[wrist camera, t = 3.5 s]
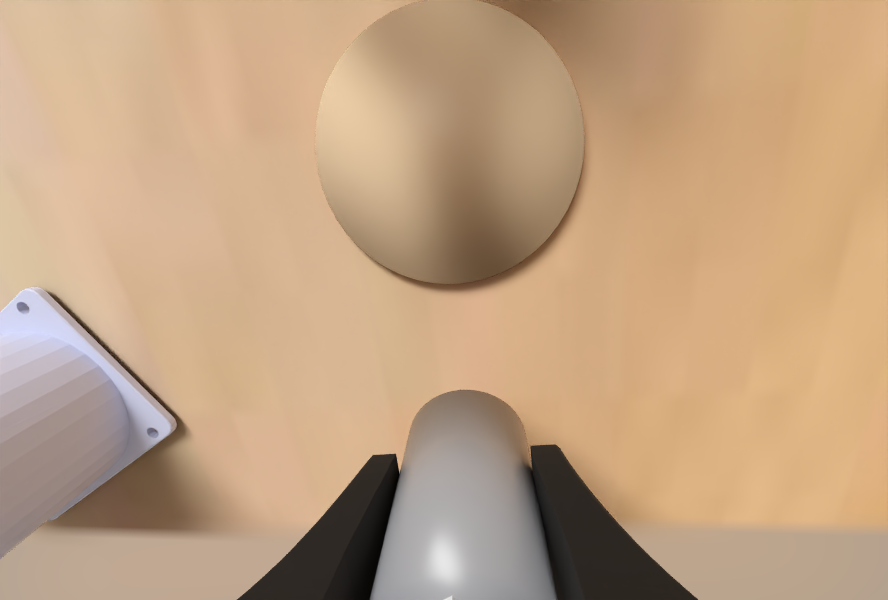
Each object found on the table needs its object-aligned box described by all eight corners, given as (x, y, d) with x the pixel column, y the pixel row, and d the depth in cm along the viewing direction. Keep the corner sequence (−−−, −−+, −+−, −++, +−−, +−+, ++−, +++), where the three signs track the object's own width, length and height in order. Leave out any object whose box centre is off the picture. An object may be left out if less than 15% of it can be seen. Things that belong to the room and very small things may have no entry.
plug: (454, 506, 13) (436, 839, 7) (385, 428, 12) (290, 714, 6) (548, 455, 12) (632, 776, 6) (481, 368, 12) (490, 623, 5)
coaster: (424, 325, 17) (422, 329, 16) (266, 127, 15) (260, 126, 14) (632, 183, 14) (636, 183, 14) (479, -70, 13) (479, -77, 12)
